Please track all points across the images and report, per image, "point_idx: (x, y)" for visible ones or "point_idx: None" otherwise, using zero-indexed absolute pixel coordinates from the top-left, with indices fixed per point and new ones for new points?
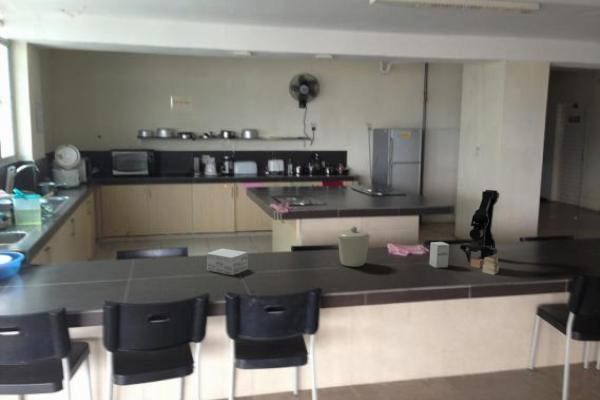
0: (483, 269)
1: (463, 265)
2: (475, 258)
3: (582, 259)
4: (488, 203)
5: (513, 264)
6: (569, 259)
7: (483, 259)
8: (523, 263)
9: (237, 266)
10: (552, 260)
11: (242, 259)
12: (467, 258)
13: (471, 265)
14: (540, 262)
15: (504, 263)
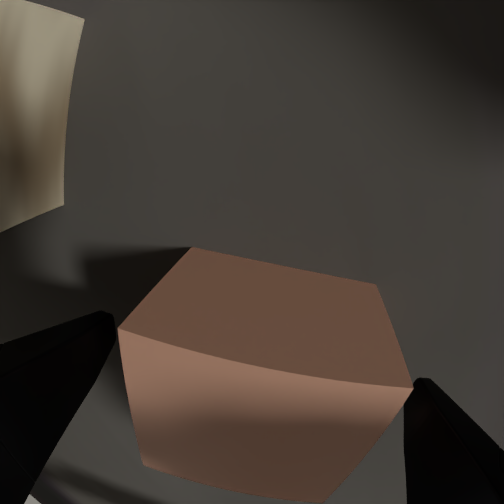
0: (41, 12)
1: (491, 254)
2: (306, 477)
3: (34, 494)
4: None
5: (69, 462)
6: (44, 497)
7: (143, 458)
8: (61, 475)
9: None
10: (52, 496)
11: None
12: (474, 424)
13: (363, 290)
14: (47, 482)
15: (110, 477)
